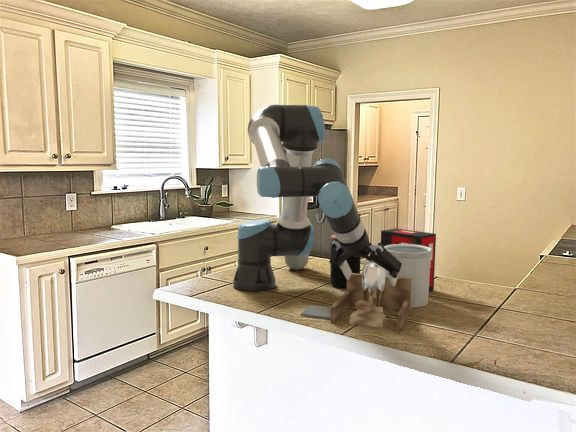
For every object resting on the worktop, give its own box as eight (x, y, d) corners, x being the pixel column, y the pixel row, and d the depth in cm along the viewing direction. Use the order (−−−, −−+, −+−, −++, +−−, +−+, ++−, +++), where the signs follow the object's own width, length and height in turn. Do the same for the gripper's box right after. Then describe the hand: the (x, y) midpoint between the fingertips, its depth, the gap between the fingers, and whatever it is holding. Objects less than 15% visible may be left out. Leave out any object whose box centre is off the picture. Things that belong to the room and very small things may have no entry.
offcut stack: (349, 323, 131) (350, 303, 130) (354, 318, 135) (354, 298, 135) (382, 328, 127) (383, 307, 127) (385, 322, 132) (386, 301, 132)
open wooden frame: (330, 322, 132) (331, 287, 130) (347, 303, 149) (347, 272, 148) (401, 332, 125) (402, 295, 123) (410, 311, 142) (411, 278, 141)
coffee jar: (359, 281, 176) (360, 234, 173) (360, 289, 165) (361, 238, 163) (330, 281, 177) (331, 233, 174) (330, 288, 166) (330, 238, 164)
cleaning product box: (433, 290, 164) (435, 233, 162) (418, 295, 159) (421, 236, 156) (394, 281, 177) (396, 228, 175) (379, 285, 171) (381, 230, 169)
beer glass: (386, 312, 140) (388, 263, 139) (383, 320, 134) (384, 268, 132) (363, 310, 143) (364, 261, 141) (359, 317, 136) (360, 266, 134)
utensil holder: (403, 311, 141) (405, 254, 139) (372, 298, 155) (373, 245, 152) (439, 304, 148) (442, 249, 146) (407, 292, 161) (409, 242, 159)
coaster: (300, 315, 137) (300, 313, 137) (310, 306, 146) (310, 304, 146) (330, 319, 134) (330, 317, 134) (338, 310, 142) (338, 308, 142)
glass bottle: (283, 266, 200) (283, 200, 197) (307, 266, 201) (307, 200, 198) (285, 272, 190) (285, 203, 187) (310, 271, 191) (311, 202, 188)
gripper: (302, 240, 123) (327, 283, 138) (394, 249, 110) (411, 297, 125) (312, 218, 127) (335, 262, 142) (402, 224, 114) (418, 273, 129)
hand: (371, 278), depth 133 cm, fingers open, 13 cm apart
